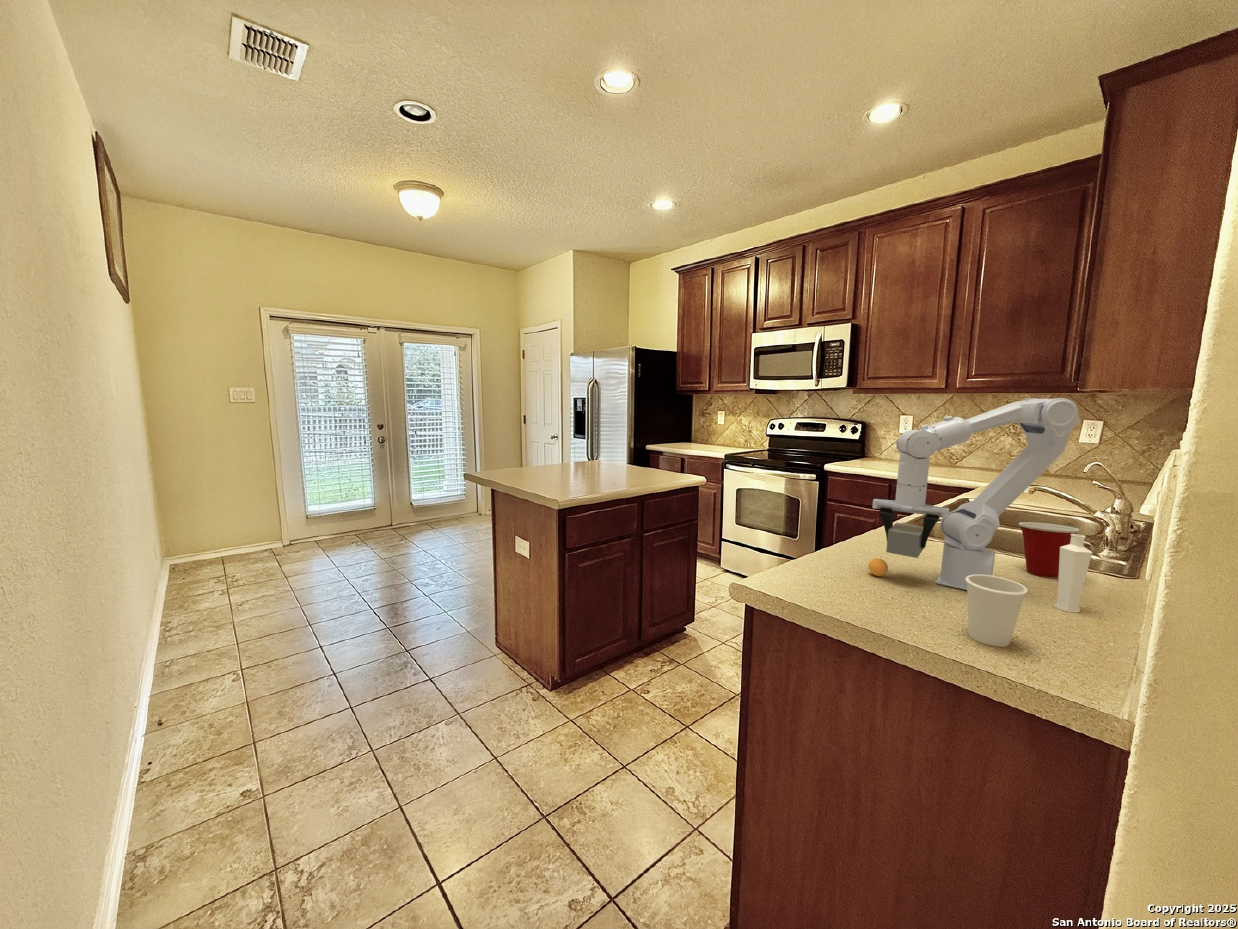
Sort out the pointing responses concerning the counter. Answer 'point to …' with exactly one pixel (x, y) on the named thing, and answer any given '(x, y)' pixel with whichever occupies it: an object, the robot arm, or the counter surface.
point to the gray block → (905, 540)
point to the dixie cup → (993, 608)
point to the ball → (878, 567)
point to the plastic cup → (1044, 546)
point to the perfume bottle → (1072, 573)
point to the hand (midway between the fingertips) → (905, 544)
